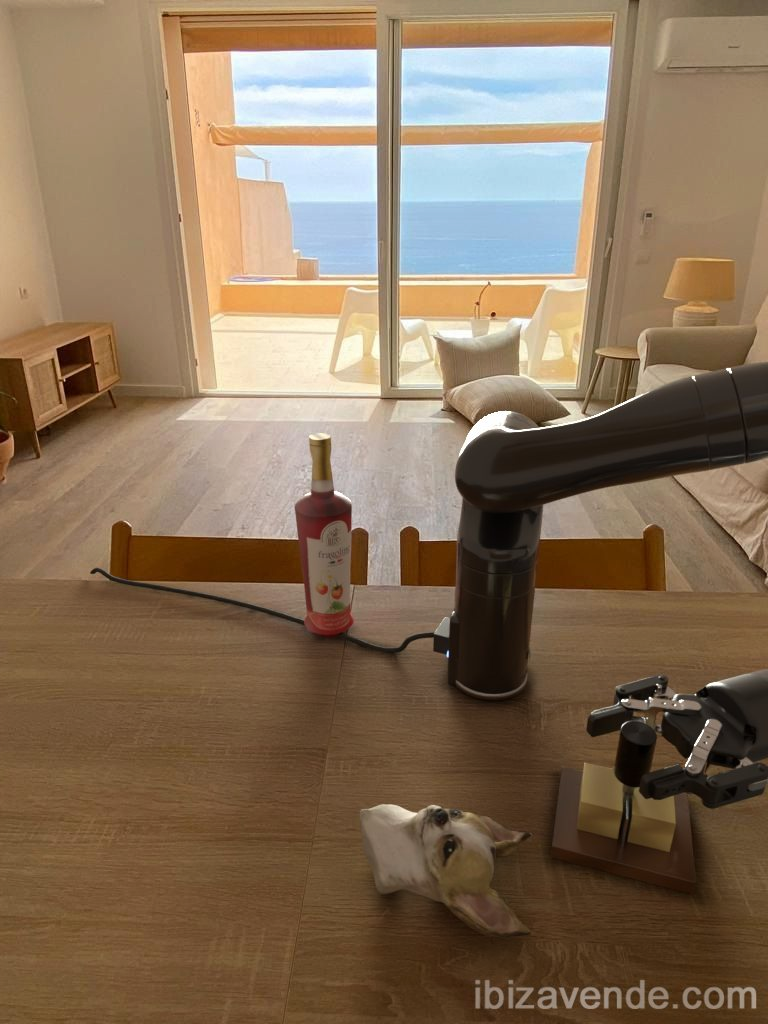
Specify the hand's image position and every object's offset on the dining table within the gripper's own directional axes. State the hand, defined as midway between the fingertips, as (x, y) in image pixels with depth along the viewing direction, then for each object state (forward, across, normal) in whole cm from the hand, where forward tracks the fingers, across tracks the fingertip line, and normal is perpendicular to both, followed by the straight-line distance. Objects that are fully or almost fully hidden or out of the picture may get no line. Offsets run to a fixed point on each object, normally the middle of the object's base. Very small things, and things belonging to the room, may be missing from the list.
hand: (614, 755), depth 61 cm
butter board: (-2, 0, +10) cm, 10 cm away
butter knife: (-2, 0, +8) cm, 9 cm away
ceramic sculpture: (+16, 0, +10) cm, 19 cm away
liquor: (+15, -42, +10) cm, 46 cm away
